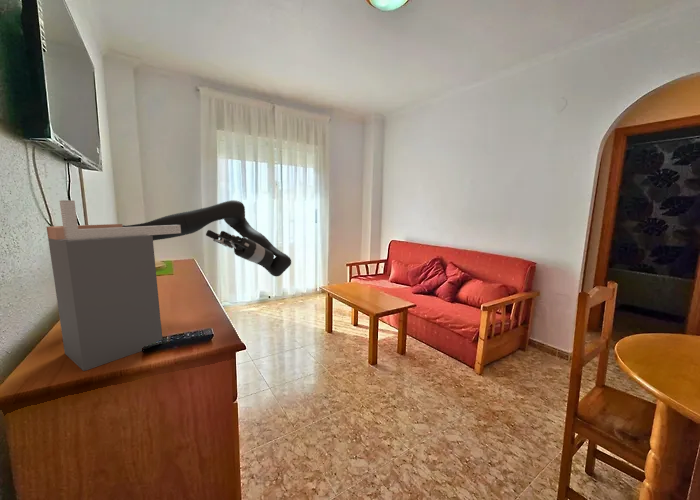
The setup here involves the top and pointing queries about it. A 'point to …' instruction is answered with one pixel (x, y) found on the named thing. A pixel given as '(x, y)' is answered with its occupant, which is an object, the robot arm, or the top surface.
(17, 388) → the top surface
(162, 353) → the top surface
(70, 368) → the top surface
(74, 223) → the aluminium bracket
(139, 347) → the charcoal stand
